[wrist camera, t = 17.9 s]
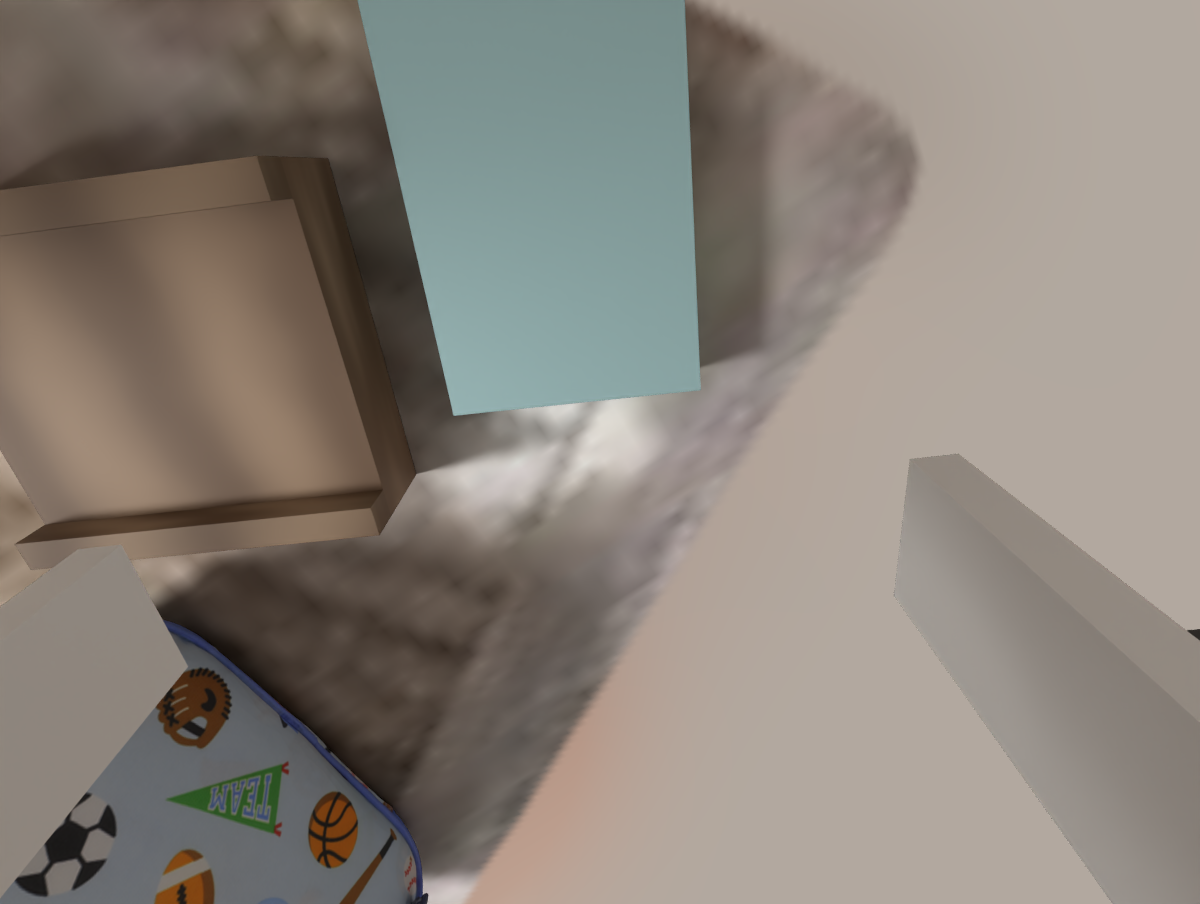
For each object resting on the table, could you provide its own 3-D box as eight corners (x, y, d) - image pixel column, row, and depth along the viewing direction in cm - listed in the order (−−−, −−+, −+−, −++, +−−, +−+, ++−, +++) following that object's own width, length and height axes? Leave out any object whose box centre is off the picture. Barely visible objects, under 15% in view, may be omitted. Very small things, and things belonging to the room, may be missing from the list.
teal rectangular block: (384, -4, 20) (350, -31, 17) (670, -44, 20) (681, -77, 17) (469, 390, 26) (453, 415, 23) (690, 366, 26) (700, 390, 23)
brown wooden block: (122, 505, 28) (30, 570, 23) (-35, 206, 22) (-196, 216, 18) (416, 474, 27) (379, 535, 23) (328, 158, 22) (256, 155, 17)
